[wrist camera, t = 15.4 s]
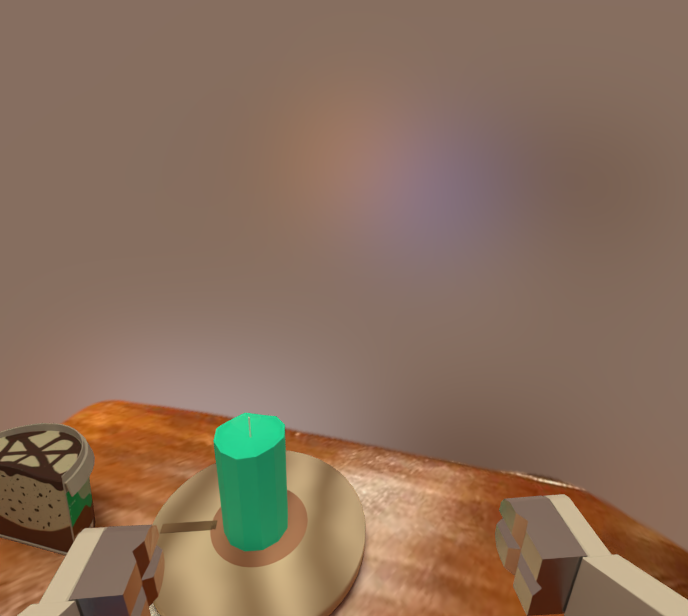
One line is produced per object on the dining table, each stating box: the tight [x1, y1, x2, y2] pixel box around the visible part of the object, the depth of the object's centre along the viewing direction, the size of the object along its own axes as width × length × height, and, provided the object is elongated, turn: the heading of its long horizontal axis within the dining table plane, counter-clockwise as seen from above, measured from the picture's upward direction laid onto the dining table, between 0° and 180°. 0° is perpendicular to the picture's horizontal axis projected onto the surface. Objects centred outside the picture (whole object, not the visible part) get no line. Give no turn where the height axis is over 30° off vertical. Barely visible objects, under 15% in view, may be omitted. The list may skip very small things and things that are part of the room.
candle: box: [214, 413, 288, 551], centre depth 37 cm, size 6×6×12 cm
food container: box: [0, 423, 95, 556], centre depth 40 cm, size 12×6×10 cm, turn 76°
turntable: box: [153, 451, 365, 616], centre depth 40 cm, size 20×20×2 cm
